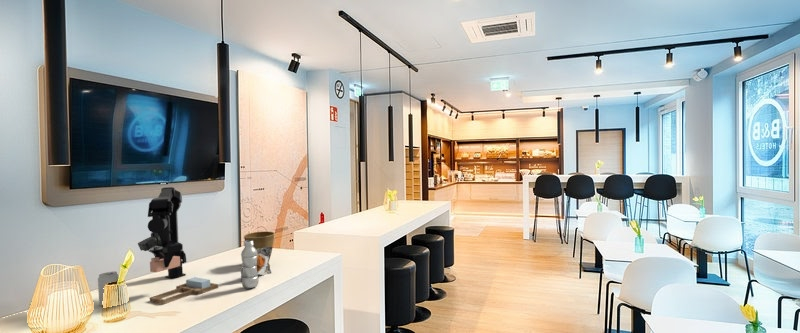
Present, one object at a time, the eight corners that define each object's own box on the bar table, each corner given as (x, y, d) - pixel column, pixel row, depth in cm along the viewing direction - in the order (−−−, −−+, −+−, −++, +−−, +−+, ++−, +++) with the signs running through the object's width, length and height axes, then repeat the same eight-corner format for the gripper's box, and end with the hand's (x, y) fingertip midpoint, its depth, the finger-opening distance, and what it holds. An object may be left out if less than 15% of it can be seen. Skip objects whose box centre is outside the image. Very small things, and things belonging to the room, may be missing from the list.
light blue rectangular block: (186, 289, 162) (186, 279, 162) (195, 286, 165) (194, 277, 165) (202, 292, 158) (201, 282, 157) (210, 288, 161) (210, 279, 161)
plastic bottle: (244, 285, 163) (242, 239, 163) (260, 284, 164) (258, 239, 163) (239, 290, 157) (237, 243, 156) (256, 289, 157) (254, 242, 157)
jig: (145, 300, 150) (145, 296, 149) (196, 283, 169) (196, 279, 169) (167, 305, 143) (167, 302, 142) (218, 287, 162) (218, 284, 162)
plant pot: (239, 266, 193) (237, 235, 192) (263, 259, 205) (262, 230, 205) (257, 270, 185) (256, 238, 185) (281, 262, 198) (280, 232, 197)
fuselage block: (150, 271, 152) (149, 258, 152) (174, 265, 161) (173, 252, 161) (156, 272, 151) (155, 258, 151) (180, 265, 160) (179, 253, 160)
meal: (247, 283, 166) (246, 254, 166) (241, 282, 168) (239, 253, 168) (273, 273, 179) (272, 246, 179) (267, 272, 181) (266, 245, 181)
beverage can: (108, 307, 143) (106, 276, 143) (94, 306, 144) (93, 275, 144) (124, 301, 149) (122, 271, 149) (110, 300, 151) (109, 270, 150)
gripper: (128, 231, 152) (129, 269, 153) (153, 234, 144) (155, 274, 144) (156, 226, 162) (158, 262, 162) (182, 228, 153) (184, 267, 153)
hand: (163, 266), depth 155 cm, fingers closed on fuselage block, 4 cm apart
